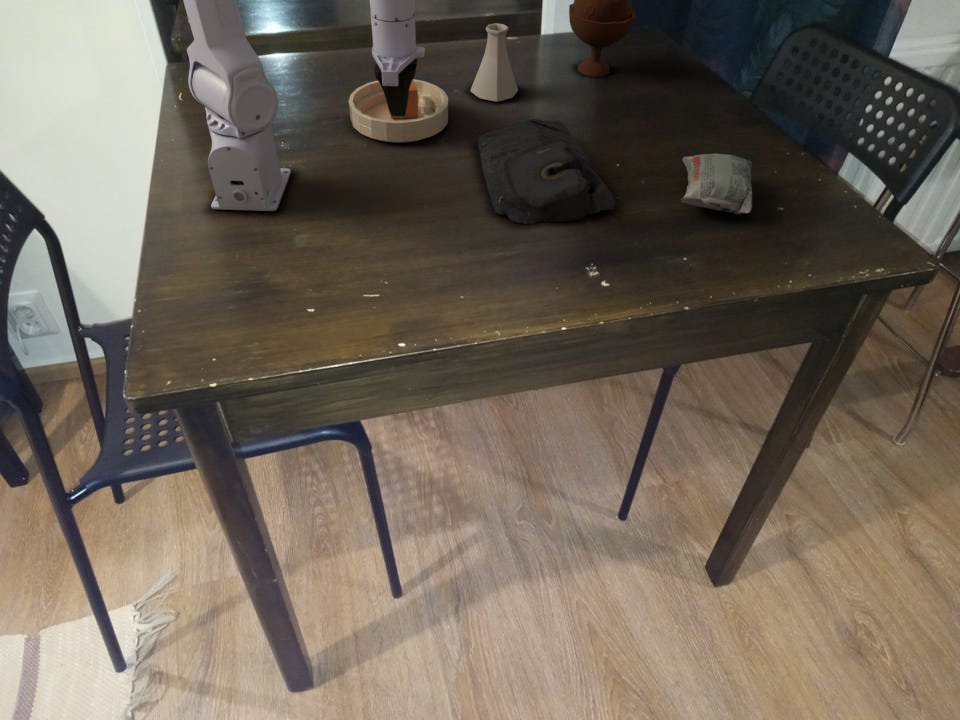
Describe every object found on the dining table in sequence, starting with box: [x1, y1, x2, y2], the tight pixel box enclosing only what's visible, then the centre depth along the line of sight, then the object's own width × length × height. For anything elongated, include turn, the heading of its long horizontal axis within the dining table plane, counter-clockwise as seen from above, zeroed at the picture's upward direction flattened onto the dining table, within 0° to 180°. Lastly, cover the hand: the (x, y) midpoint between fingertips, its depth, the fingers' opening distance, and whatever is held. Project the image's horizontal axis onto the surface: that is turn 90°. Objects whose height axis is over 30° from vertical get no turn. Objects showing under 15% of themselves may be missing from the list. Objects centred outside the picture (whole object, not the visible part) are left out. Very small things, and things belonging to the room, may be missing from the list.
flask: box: [469, 22, 519, 103], centre depth 107 cm, size 7×7×10 cm
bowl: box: [348, 78, 449, 143], centre depth 102 cm, size 14×14×4 cm
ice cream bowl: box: [568, 0, 637, 78], centre depth 113 cm, size 11×11×15 cm
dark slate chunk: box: [477, 118, 616, 225], centre depth 92 cm, size 15×22×5 cm
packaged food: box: [680, 153, 753, 215], centre depth 89 cm, size 9×12×5 cm
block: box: [387, 80, 418, 118], centre depth 102 cm, size 4×4×4 cm
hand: (398, 114), depth 100 cm, fingers closed
